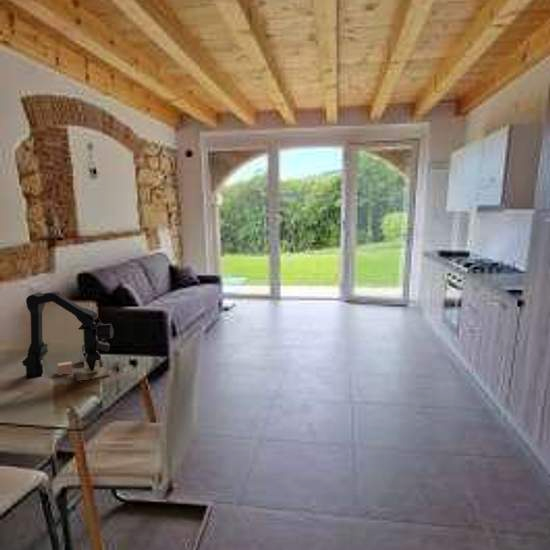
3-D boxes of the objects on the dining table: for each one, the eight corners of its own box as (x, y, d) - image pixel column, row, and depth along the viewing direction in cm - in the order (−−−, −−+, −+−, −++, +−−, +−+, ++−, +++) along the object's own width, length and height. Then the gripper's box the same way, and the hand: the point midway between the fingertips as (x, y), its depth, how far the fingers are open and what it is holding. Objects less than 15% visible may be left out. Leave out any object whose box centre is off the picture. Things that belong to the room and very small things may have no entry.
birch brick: (85, 373, 196) (85, 363, 195) (84, 370, 199) (84, 361, 198) (99, 371, 199) (98, 361, 198) (97, 368, 202) (97, 359, 201)
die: (78, 367, 210) (90, 353, 209) (70, 356, 213) (81, 341, 213) (91, 368, 217) (102, 354, 216) (83, 357, 221) (94, 343, 220)
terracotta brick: (58, 375, 197) (57, 365, 196) (58, 373, 201) (57, 363, 200) (72, 373, 200) (71, 363, 200) (71, 370, 204) (71, 361, 203)
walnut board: (77, 381, 191) (77, 380, 190) (74, 373, 201) (74, 371, 201) (109, 376, 198) (109, 374, 198) (105, 368, 208) (105, 366, 208)
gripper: (111, 341, 193) (112, 372, 195) (105, 330, 208) (106, 360, 211) (85, 344, 187) (87, 377, 189) (80, 333, 203) (82, 364, 205)
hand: (91, 369), depth 199 cm, fingers closed on birch brick, 4 cm apart
